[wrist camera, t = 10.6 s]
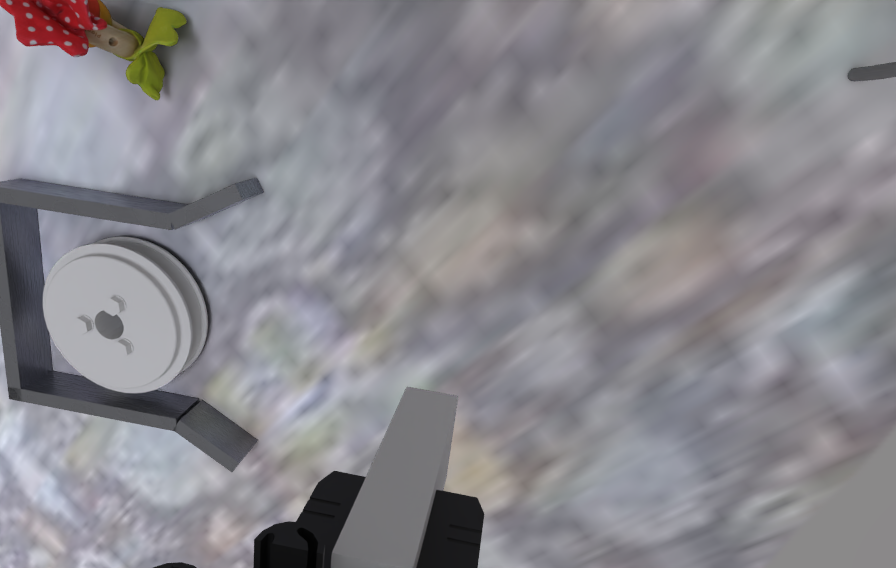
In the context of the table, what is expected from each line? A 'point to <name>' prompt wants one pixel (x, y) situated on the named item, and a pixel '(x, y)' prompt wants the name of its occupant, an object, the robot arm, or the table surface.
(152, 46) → the bird rattle
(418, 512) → the robot arm
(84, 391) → the steel bracket
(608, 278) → the table surface
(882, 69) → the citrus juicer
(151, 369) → the grey pulley wheel
